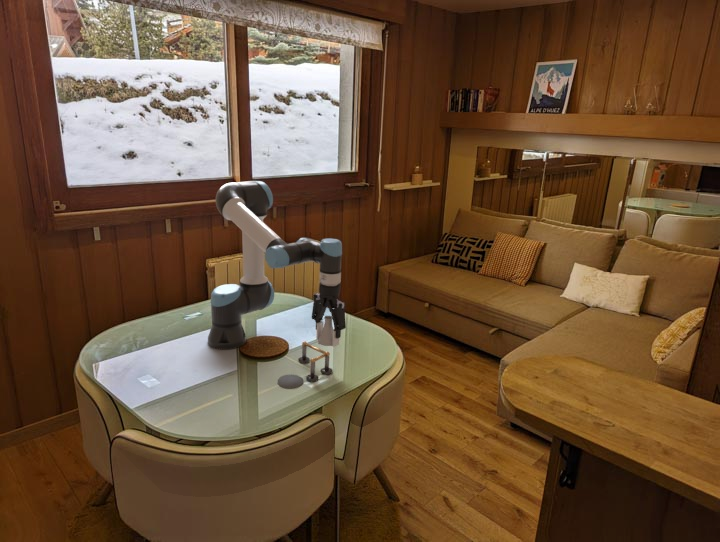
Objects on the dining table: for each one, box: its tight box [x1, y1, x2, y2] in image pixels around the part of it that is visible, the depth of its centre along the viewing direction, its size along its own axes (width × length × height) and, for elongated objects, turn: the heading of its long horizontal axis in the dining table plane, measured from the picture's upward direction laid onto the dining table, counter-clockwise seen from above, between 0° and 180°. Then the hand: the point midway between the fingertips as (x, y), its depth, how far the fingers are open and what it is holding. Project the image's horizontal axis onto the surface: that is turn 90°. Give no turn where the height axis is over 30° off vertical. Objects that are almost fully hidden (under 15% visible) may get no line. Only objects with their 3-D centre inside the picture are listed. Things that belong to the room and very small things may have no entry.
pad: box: [277, 374, 304, 389], centre depth 176 cm, size 9×9×1 cm
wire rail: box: [298, 340, 333, 383], centre depth 184 cm, size 16×12×8 cm
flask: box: [317, 315, 334, 347], centre depth 180 cm, size 7×7×10 cm
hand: (327, 341), depth 181 cm, fingers closed on flask, 7 cm apart
